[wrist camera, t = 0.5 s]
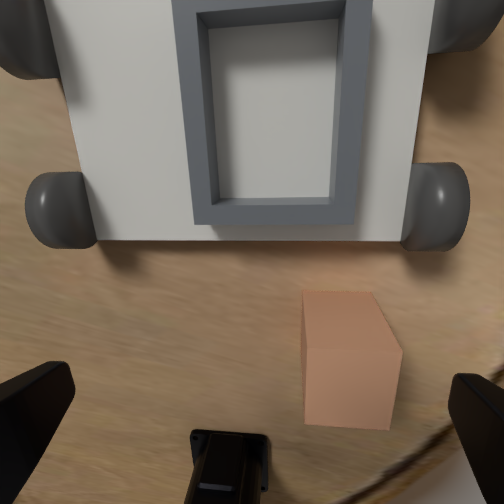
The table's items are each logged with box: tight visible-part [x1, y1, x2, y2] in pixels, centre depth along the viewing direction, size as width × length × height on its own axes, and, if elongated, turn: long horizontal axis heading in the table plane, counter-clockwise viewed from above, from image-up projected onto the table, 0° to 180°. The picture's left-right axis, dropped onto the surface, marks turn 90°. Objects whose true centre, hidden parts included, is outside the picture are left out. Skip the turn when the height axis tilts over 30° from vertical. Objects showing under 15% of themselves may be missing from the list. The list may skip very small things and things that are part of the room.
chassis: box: [0, 0, 504, 252], centre depth 15 cm, size 13×21×4 cm, turn 92°
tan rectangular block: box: [301, 290, 403, 431], centre depth 18 cm, size 5×4×6 cm
